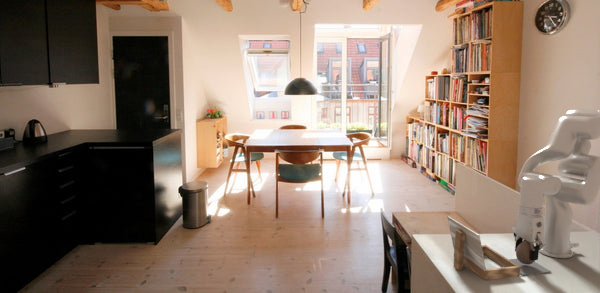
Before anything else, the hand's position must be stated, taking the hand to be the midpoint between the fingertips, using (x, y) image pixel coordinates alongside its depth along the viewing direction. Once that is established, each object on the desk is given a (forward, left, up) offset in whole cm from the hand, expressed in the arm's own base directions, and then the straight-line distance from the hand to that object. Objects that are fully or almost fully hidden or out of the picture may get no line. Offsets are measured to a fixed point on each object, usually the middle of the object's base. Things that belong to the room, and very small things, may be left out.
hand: (526, 255), depth 158 cm
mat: (0, 0, -5) cm, 5 cm away
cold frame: (+17, -4, -5) cm, 18 cm away
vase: (0, 0, -3) cm, 3 cm away
